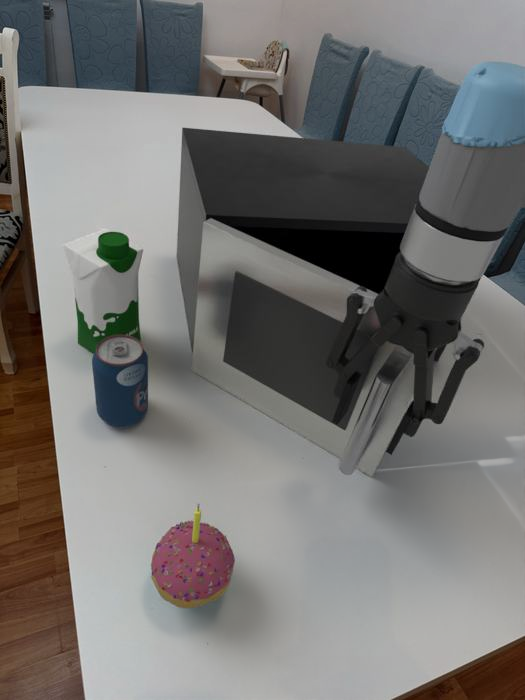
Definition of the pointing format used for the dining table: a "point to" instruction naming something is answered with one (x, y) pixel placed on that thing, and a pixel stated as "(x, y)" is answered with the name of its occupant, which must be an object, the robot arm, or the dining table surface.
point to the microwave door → (294, 346)
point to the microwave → (297, 202)
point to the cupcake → (192, 564)
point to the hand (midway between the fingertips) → (365, 431)
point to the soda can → (120, 380)
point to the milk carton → (105, 286)
